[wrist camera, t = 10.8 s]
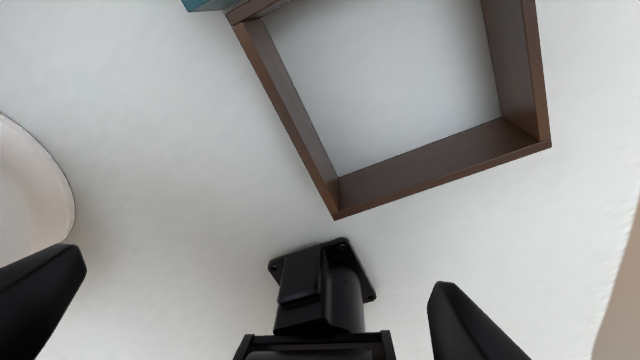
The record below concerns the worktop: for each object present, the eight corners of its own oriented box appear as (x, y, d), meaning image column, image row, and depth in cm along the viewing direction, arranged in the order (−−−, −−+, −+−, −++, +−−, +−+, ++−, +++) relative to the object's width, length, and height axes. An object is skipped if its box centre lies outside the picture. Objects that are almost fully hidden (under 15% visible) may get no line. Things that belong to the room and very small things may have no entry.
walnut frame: (512, 120, 18) (552, 147, 15) (334, 186, 21) (334, 221, 17) (472, -112, 13) (518, -150, 10) (247, 11, 16) (224, 14, 13)
